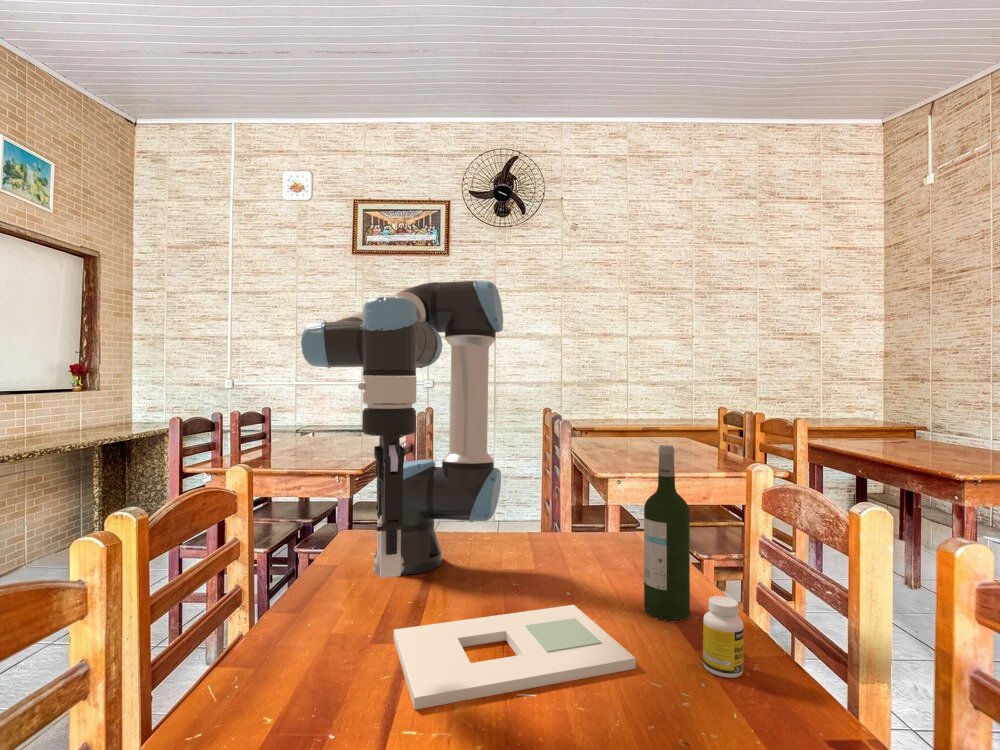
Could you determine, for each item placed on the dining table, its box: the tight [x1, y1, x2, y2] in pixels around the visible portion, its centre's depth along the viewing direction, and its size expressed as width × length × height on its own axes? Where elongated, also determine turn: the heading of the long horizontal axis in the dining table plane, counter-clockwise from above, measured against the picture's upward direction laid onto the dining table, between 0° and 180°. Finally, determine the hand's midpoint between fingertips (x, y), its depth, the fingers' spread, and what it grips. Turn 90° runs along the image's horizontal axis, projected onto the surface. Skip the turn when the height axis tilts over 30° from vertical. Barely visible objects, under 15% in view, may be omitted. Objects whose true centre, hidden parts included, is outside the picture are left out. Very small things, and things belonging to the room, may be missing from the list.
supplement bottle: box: [702, 595, 745, 679], centre depth 78 cm, size 5×5×10 cm
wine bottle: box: [643, 444, 691, 622], centre depth 98 cm, size 8×8×30 cm
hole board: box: [393, 604, 637, 711], centre depth 83 cm, size 20×32×2 cm, turn 108°
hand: (388, 569), depth 77 cm, fingers closed on rook chess piece, 4 cm apart
